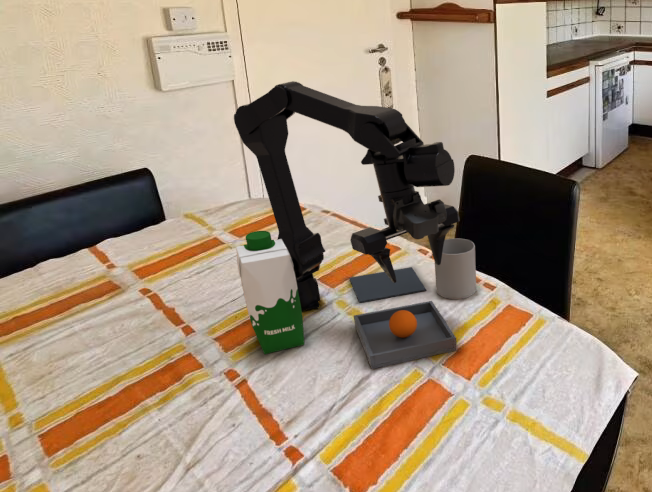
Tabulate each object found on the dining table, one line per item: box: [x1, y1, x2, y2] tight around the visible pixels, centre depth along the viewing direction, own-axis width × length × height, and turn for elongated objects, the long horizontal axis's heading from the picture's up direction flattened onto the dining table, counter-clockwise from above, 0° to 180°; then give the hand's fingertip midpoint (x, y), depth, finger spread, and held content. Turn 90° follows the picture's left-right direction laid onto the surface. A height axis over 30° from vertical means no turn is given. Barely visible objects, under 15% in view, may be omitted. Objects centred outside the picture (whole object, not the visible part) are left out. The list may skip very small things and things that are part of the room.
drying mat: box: [349, 266, 427, 304], centre depth 134 cm, size 14×12×1 cm
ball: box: [389, 310, 417, 338], centre depth 113 cm, size 5×5×5 cm
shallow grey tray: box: [353, 300, 458, 370], centre depth 114 cm, size 15×15×3 cm
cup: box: [433, 237, 477, 300], centre depth 129 cm, size 8×8×10 cm
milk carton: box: [235, 230, 305, 355], centre depth 109 cm, size 9×9×20 cm
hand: (416, 273), depth 111 cm, fingers open, 9 cm apart
